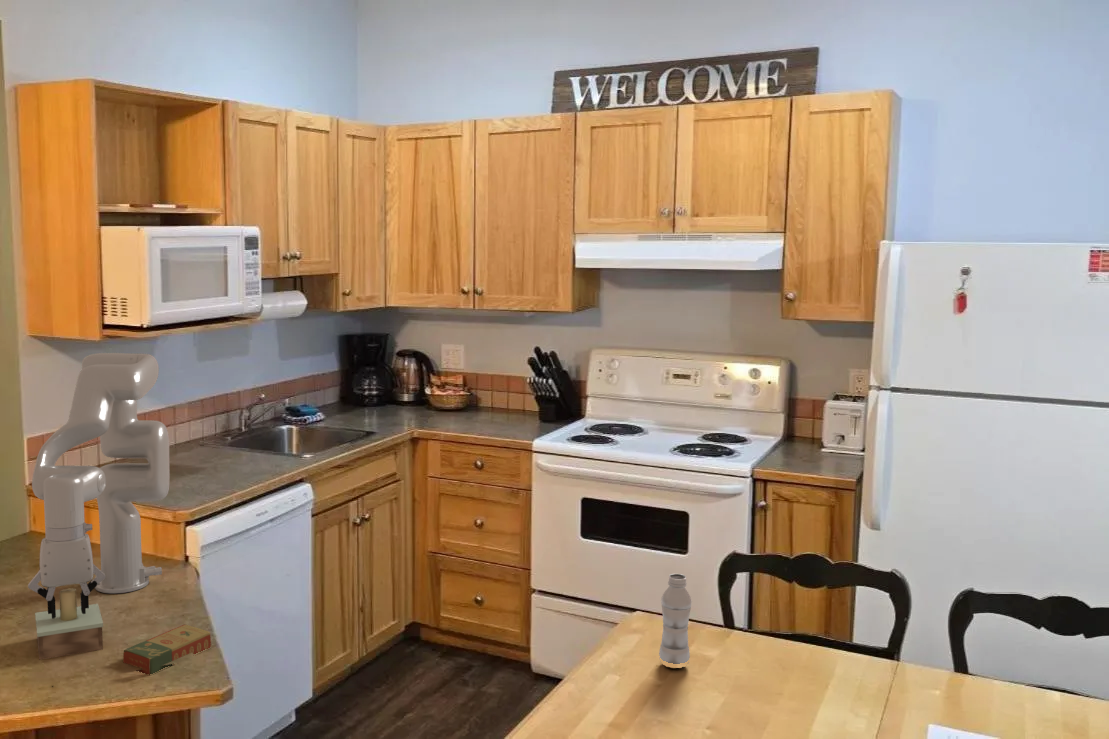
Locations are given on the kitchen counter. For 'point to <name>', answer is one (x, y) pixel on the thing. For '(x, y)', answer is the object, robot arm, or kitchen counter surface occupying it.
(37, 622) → the lid
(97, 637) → the tea box
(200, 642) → the carton
